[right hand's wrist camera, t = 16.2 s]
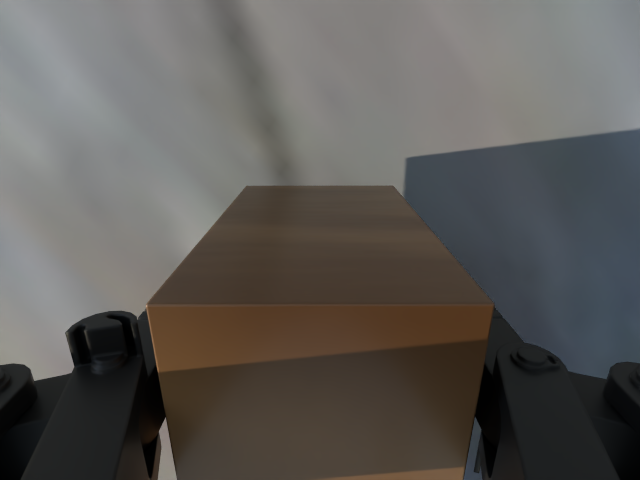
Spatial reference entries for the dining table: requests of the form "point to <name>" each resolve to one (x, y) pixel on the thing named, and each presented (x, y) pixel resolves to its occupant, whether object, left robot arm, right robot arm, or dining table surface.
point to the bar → (320, 342)
